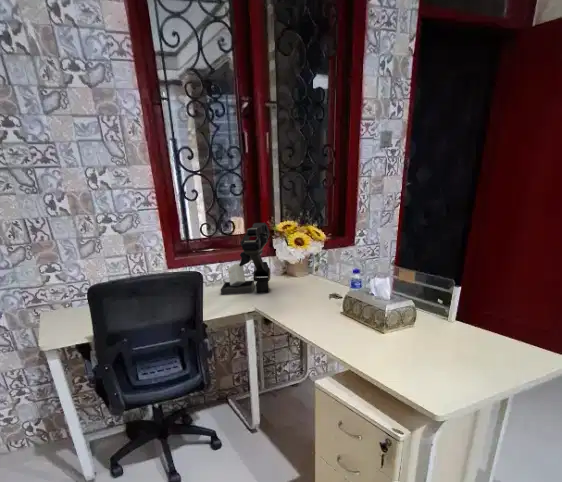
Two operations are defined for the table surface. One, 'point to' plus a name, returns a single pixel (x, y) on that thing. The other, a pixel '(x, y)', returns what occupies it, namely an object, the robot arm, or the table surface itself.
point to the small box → (236, 275)
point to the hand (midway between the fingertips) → (243, 263)
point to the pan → (238, 288)
